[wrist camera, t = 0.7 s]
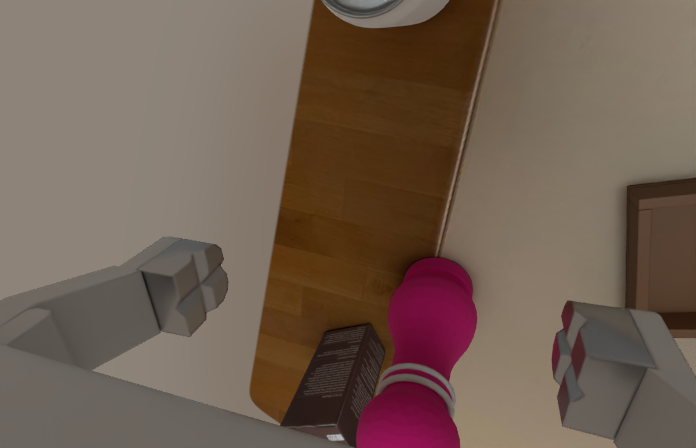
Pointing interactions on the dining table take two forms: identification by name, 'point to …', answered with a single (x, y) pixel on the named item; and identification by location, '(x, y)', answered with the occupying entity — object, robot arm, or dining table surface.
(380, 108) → the dining table surface
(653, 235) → the tray
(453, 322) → the pepper mill
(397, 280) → the dining table surface
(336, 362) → the box
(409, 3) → the can
